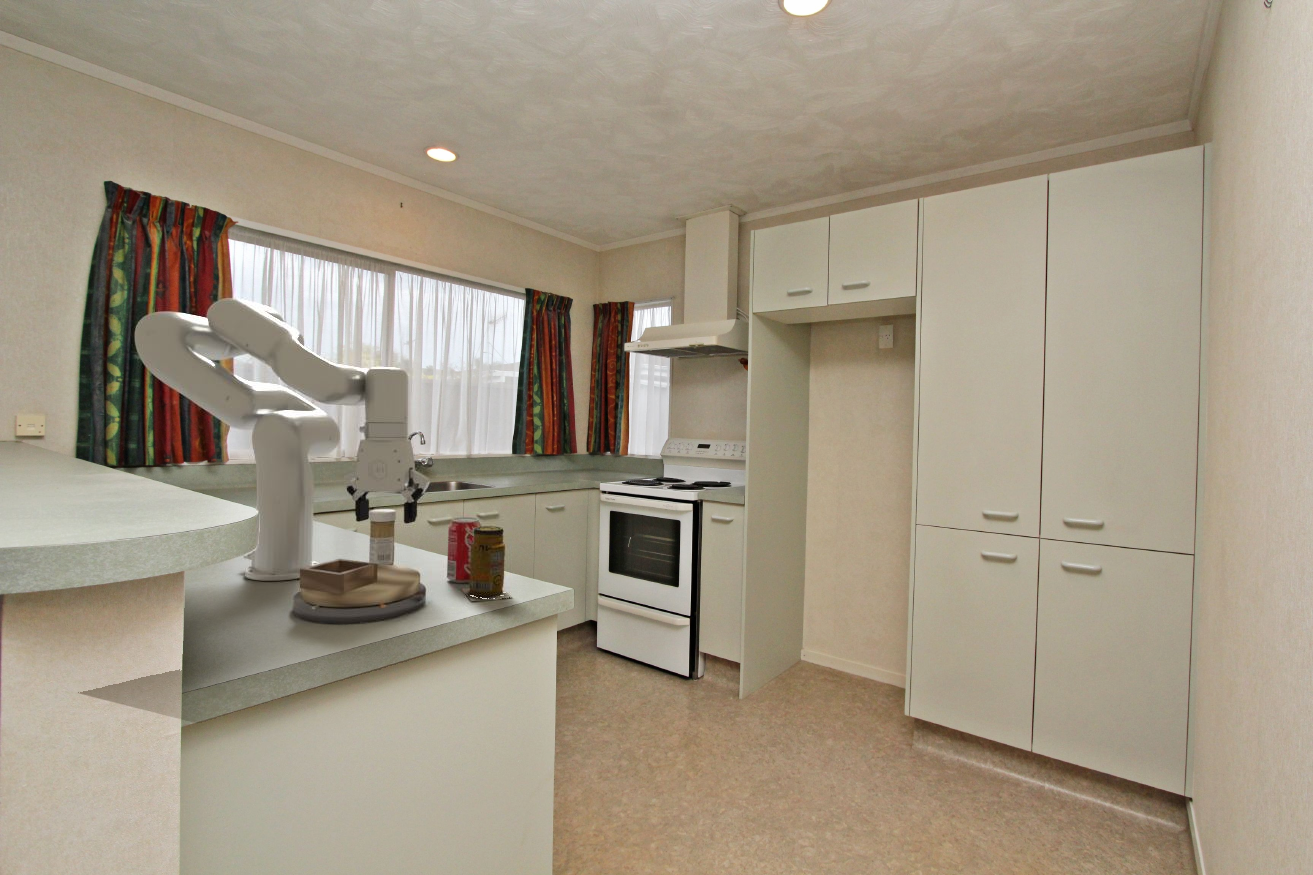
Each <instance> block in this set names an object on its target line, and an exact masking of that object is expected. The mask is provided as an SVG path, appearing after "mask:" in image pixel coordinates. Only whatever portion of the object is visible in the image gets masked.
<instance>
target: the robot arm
mask: <svg viewBox="0 0 1313 875" xmlns="http://www.w3.org/2000/svg"><path fill="white" fill-rule="evenodd" d="M134 344H135V349H136V351H137V354H138V356H139V358H140V360H141V361H142V363H143V365H144V366H145V367H146V369H148V371H149V372H150V373H151V374H153V375H152V376H154V377H156V378H157V379H158V380H160V381H161V382H162V383H164V384H165V385H167V386H168V387H170V388H171V389H172V390H175V391H176V392H177V393H180V394H181V395H182V396H184V397H185V398H187V399H189V400H190V401H192V402H193V404H196V405H197V406H199V407H200V408H202V409H203V410H205V412H207V413H209V414H210V415H212V416H214V417H215V418H216V419H218V420H220V421H222V422H223V423H224V424H226V425H227V426H229V427H230V428H234V429H237V430H242V431H243V430H245V431H252V433H251V444H252V450H253V454H254V459H255V460H254V461H255V469H256V504H255V505H256V508H255V510H258V511H259V514H260V532H259V544H258V547H257V549H256V550H255V551H253V552H252V553H250V554H248V555H247V556H244V555H243V559H245V560H251V565H250V566H248V567H247V568H246V569H245V570H244V577H246V578H247V579H249V580H252V581H253V580H254V581H262V582H267V581H268V582H274V581H276V582H277V581H288V580H289V581H290V580H296V579H297V580H298V579H300V569H302V568H305V567H309V566H313V565H317V564H321V563H320V562H318V561H315V560H313V536H314V535H313V532H314V503H315V502H314V501H315V500H314V498H315V493H314V492H315V490H314V489H315V481H314V480H315V479H314V478H315V477H314V474H313V470H312V467H311V464H310V461H309V459H311V458H313V459H314V458H319V457H325V456H327V455H329V454H330V453H332V452H333V451H335V449H336V448H337V447H338V445H339V443H340V440H341V432H340V428H339V426H338V423H337V422H336V420H335V419H334V418H333V417H332V416H330V415H329V414H328V413H327V412H325V411H324V410H323V409H321V408H319V407H318V406H316V405H315V404H313V403H312V402H310V401H309V400H307V399H306V398H304V397H302V396H301V395H299V394H298V393H296V392H294V391H292V390H291V389H289V388H287V387H284V386H282V385H278V384H275V383H274V384H273V383H266V382H256V381H250V380H246V379H244V378H242V377H240V376H238V375H237V374H235V373H233V372H232V371H230V370H229V369H227V368H226V367H224V366H223V365H222V364H219V363H218V362H216V361H223V360H228V359H233V358H236V357H239V356H240V357H241V356H243V355H247V354H248V355H250V356H251V357H252V358H255V359H257V360H259V362H262V363H264V364H265V365H267V366H268V367H270V369H271V370H272V372H273V373H274V374H275V375H276V377H277V378H278V379H279V380H280V381H281V382H283V383H284V384H286V385H287V386H288V387H290V388H292V389H294V390H295V391H298V392H299V393H301V394H302V395H304V396H306V397H307V398H310V399H311V400H313V401H316V402H319V403H321V404H325V405H336V406H337V405H339V406H353V407H356V406H357V407H358V406H364V423H363V424H364V425H361V426H359V433H361V434H363V435H364V439H363V438H362V439H360V441H359V444H358V449H357V454H356V459H355V470H354V471H352V472H350V473H348V474H346V475H344V476H343V477H342V482H343V484H344V486H345V487H346V491H347V493H348V494H349V495H350V496H351V499H352V500H353V501H354V502H355V504H354V505H355V506H354V507H355V508H354V509H355V510H354V512H355V514H354V515H355V521H356V522H359V523H360V522H363V521H367V520H370V500H369V498H367V497H368V496H369V494H371V493H391V494H394V493H395V494H397V493H400V494H401V495H402V496H403V497H404V500H406V501H405V502H404V503H403V523H404V524H410V523H411V524H412V523H414V522H416V520H417V517H418V501H420V499H421V498H422V497H423V496H424V495H425V494H426V492H427V489H428V487H430V486H429V485H430V484H431V479H430V478H429V477H427V476H426V475H425V474H422V473H420V472H419V471H417V470H416V466H415V465H416V463H415V455H414V450H413V445H412V441H411V439H408V438H409V437H408V436H409V435H408V428H409V427H408V426H409V424H408V422H409V419H408V418H409V416H408V415H409V412H408V411H409V405H408V404H409V376H408V373H407V371H406V370H404V369H403V368H398V367H386V366H385V367H384V366H383V367H382V366H375V367H369V368H362V367H356V366H351V365H344V364H337V363H334V362H330V361H328V360H326V359H325V358H323V357H321V356H319V355H317V354H316V353H315V352H313V351H311V350H309V349H308V348H306V347H305V339H304V336H303V334H302V333H301V332H300V331H299V330H297V329H296V328H294V327H292V326H290V325H288V324H287V323H285V320H284V319H283V317H282V316H281V315H280V313H279V312H277V311H276V310H275V309H274V308H271V307H269V306H266V305H263V304H260V303H257V302H253V301H248V300H244V299H241V298H235V297H226V298H221V299H219V300H217V301H215V302H213V304H211V305H210V307H209V308H208V309H207V312H206V317H203V316H200V315H199V316H198V315H193V314H189V313H184V312H178V311H156V312H151V313H149V314H147V315H144V316H143V317H142V318H141V319H139V321H138V322H137V324H136V326H135V330H134ZM416 481H417V482H418V484H419V485H418V487H417V488H416V489H415V485H416Z"/></svg>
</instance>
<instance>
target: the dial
mask: <svg viewBox="0 0 1313 875" xmlns="http://www.w3.org/2000/svg"><path fill="white" fill-rule="evenodd" d="M420 583H421V573H420V572H419V571H418V570H416V569H414V568H411V567H408V566H407V567H406V566H402V565H394V564H393V565H378V564H375V563H369V561H360V560H351V559H344V558H337V559H333V560H329V561H326V562H321V563H320V564H317V565H313V566H309V567H305V568H302V569H300V578H299V589H300V591H301V599H302V600H303V601H305V602H307V603H310V604H314V605H319V606H327V607H360V606H371V605H378V604H384V603H389V602H394V601H398V600H401V599H404V598H407V597H409V596H412V595H414V594H415V593H417V592H418V591H419V589H420Z"/></svg>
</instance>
